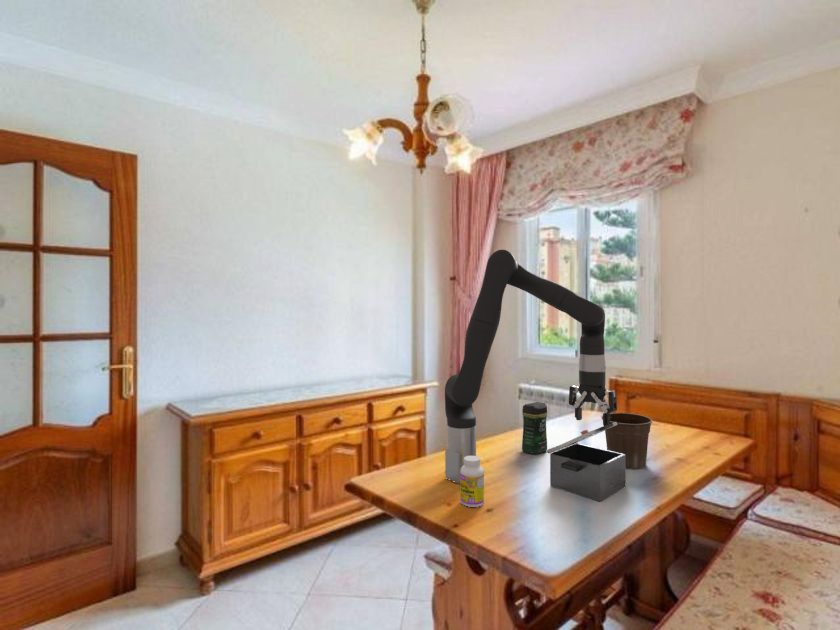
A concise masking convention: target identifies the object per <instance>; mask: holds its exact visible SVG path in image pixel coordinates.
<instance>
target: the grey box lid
mask: <svg viewBox="0 0 840 630" xmlns="http://www.w3.org/2000/svg"><path fill="white" fill-rule="evenodd" d="M616 425H618V424H617V423H616V422H614V423H611V424H608V425H606V426H604V425H602V426H601V427H598V428H595V429H593V430H590V431H589V430H588V429H584V430H582V431H581V432H580V434H581V435H579V436H577V437H575V438H572V439H571V440H568V441H566V442H564V443H561V444H559V445H556V446H553V447H551V448H547V451H546V452H547V454H551V453H553V452H556V451H558V450H561V449H563V448H566V447H569V446H571V445H574V444H576V443H578V444H579V443H580V442H582V441H584V440H586V439H589V438H591V437H594V436H596V435H597V434H598V435H599V434H601V433H602V432H605V430H607V429H609V428H611V427H614V426H616Z"/></svg>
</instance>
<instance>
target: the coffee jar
mask: <svg viewBox="0 0 840 630" xmlns="http://www.w3.org/2000/svg"><path fill="white" fill-rule="evenodd" d="M521 412H522V414H521V415H522V420H523V423H522V424H523V425H522V440H521V442H522V444H521V450H522V451H523V452H525V454H530V455H531V454H535V455H539V454H542V453H545V452H547V450H548V438H547V437H548V436H547V435H548V434H547V417H548V405H547V404H546V403H545V402H542V401H541V402H539V401H535V402H530V403H526V404H524V405H523V406H522V411H521Z"/></svg>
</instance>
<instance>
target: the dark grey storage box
mask: <svg viewBox="0 0 840 630" xmlns="http://www.w3.org/2000/svg"><path fill="white" fill-rule="evenodd" d="M549 455H550V457H549V461H550V462H549V464H550V466H549V467H550V469H549V471H550V473H549V475H550V477H549V482H550V483H549V485H550V487H552V488H554V489H558V490H562V491H565V492H567V493H568V492H569V493H571V494H574V495H577V496H580V497H583V498H586V499H589V500H591V501H593V500H594V501H596V502H599V503H601V502H604V500H606V499H608V498H609V497H612V496H613V495H614V494H616V493H618V492H620V491H621V490H622V489H624V487H625V488H626V486H627V485H626V484H627V483H626V478H627V477H626V473H627V472H626V470H627V469H626V454H622V453H618V452H613V451H609V450H607V449H605V448H600V447H595V446H591V445H586V444H583V443H579V442H578V443H575V444H573V445H570V446H568V447H565V448H563V449H560V450H557V451H555V452H552V453H549Z"/></svg>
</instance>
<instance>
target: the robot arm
mask: <svg viewBox="0 0 840 630" xmlns="http://www.w3.org/2000/svg"><path fill="white" fill-rule="evenodd" d="M507 285H508V286H512V287H515V288H517V289H519V290H522V291H524V292H526V293H528V294H530V295H532V296H533V297H535V298H536V299H539V300H541V301H542V302H544V303H546V304H548V306H551V307H552V308H554V309H556V310H558V311H560V312H562V313H564V314H566V315H568V316H570V317H571V318H572V319H574V320H576V321H577V322H578V323H580V327H581V336H580V338H579V357H578V358H579V359H578V384H579V385H576V384H574V385H571V386H569V389H568V390H569V392H568V393H569V394H568V405H570V406H572V407H574V418H575V420H576V421H581V420H583V408H582V406H583V405H584V404H585V403H591V404H597V405H598V406H599V408H600V409H601V410H602V411H603V412H602V415H603V420H602V426H604V425H605V426H606V425H608V424H609V423H610V413H614V412H616V411H617V410H618V402H617V400H618V398H617V391H616V390H615V389H614V390H607V388H606V369H607V367H606V357H605V337H604V336H605V328H606V327H605V325H606V313H605V309H604V308H603V306H601V304H599V303H596V302H593V301H590V300H588V299H586V298H584V297H582V296H580V295H579V294H577V293H576V292H574V291H573V290H571V289H569V288H568V287H565V286H563V285H561V284H559V283H558V282H555V281H553V280H550V279H548V278H544V277H541V276H539V275H536V274H535V273H532V272H531V271H529V270H527V269H526V268H524V267H523V266H522V265H520V264H519V263H518V262H517V260H516V258H515V256H514V255H513V254H512V253H511V252H510V251H509V250H507V249H497V250H496V251H494V252H493V253H491V255H490V256H489V257H488V259H487V262H486V267H485V272H484V277H483V282H482V285H481V289H480V292H479V295H478V297H477V298H476V299H477V300H476V303H475V304H474V308H473V311H472V314H471V316H470V319H469V322H468V325H467V328H466V332H465V339H464V356H463V361H462V363H461V367H460V370H459V372H458V373H456V374H453V375H451V376H450V377H448V379H447V380H446V382H445V386H444V409H445V416H446V417H445V418H446V422H447V425H446V427H447V428H446V433H447V436H446V439H447V444H446V445H447V446H446V447H447V448H446V449H445V452H444V455H445V457H444V458H445V459H444V460H445V461H444V465H445V467H444V468H445V470H444V474H445V478H447V479H450V480H452V481H455V482H457V483H456V484H458V483H460V470H461V468H462V466H464V465H465V464H464V457H466V456H477V418H476V414H475V411H474V408H473V404H474V403H475V402H476V400H477V399H478V398H479V394H480V391H481V385H482V380H483V375H484V372H485V371H484V370H485V367H486V364H487V361H488V358H489V355H490V352H491V349H492V347H493V344H494V340H495V338H496V335H497V332H498V330H499V329H498V328H499V325H500V320H501V317H502V316H501V314H502V303H503V297H504V293H505V290H506V287H507ZM578 393H579V394H580V396H579V398H578V399H577V394H578ZM605 397H606V398H608V401H607V399H606V398H605ZM447 479H446V480H447ZM450 480H449V481H450ZM452 481H451V482H452ZM455 482H454V483H455Z"/></svg>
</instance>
